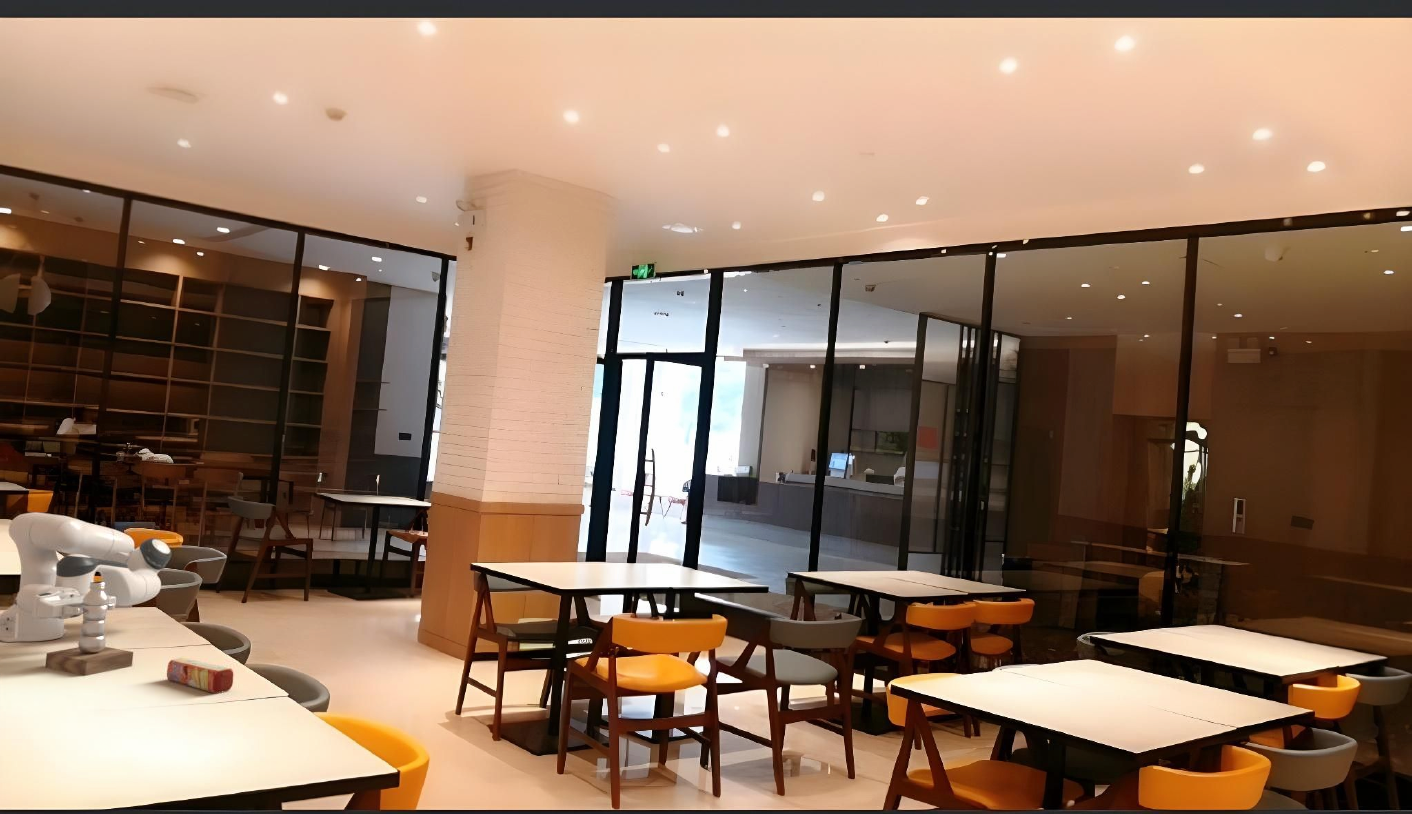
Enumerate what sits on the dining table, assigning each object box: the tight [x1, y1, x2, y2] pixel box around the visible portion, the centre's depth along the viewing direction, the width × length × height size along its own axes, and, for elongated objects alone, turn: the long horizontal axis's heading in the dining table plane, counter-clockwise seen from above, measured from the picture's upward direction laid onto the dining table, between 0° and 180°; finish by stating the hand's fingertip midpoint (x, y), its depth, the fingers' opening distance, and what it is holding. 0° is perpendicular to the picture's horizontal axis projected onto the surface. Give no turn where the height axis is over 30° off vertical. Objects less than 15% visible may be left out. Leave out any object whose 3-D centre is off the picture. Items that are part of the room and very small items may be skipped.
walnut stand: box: [45, 646, 134, 676], centre depth 268 cm, size 16×14×4 cm
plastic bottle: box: [77, 580, 109, 653], centre depth 268 cm, size 6×7×20 cm
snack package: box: [166, 656, 235, 694], centre depth 256 cm, size 21×7×7 cm, turn 62°
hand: (96, 609), depth 268 cm, fingers open, 8 cm apart
